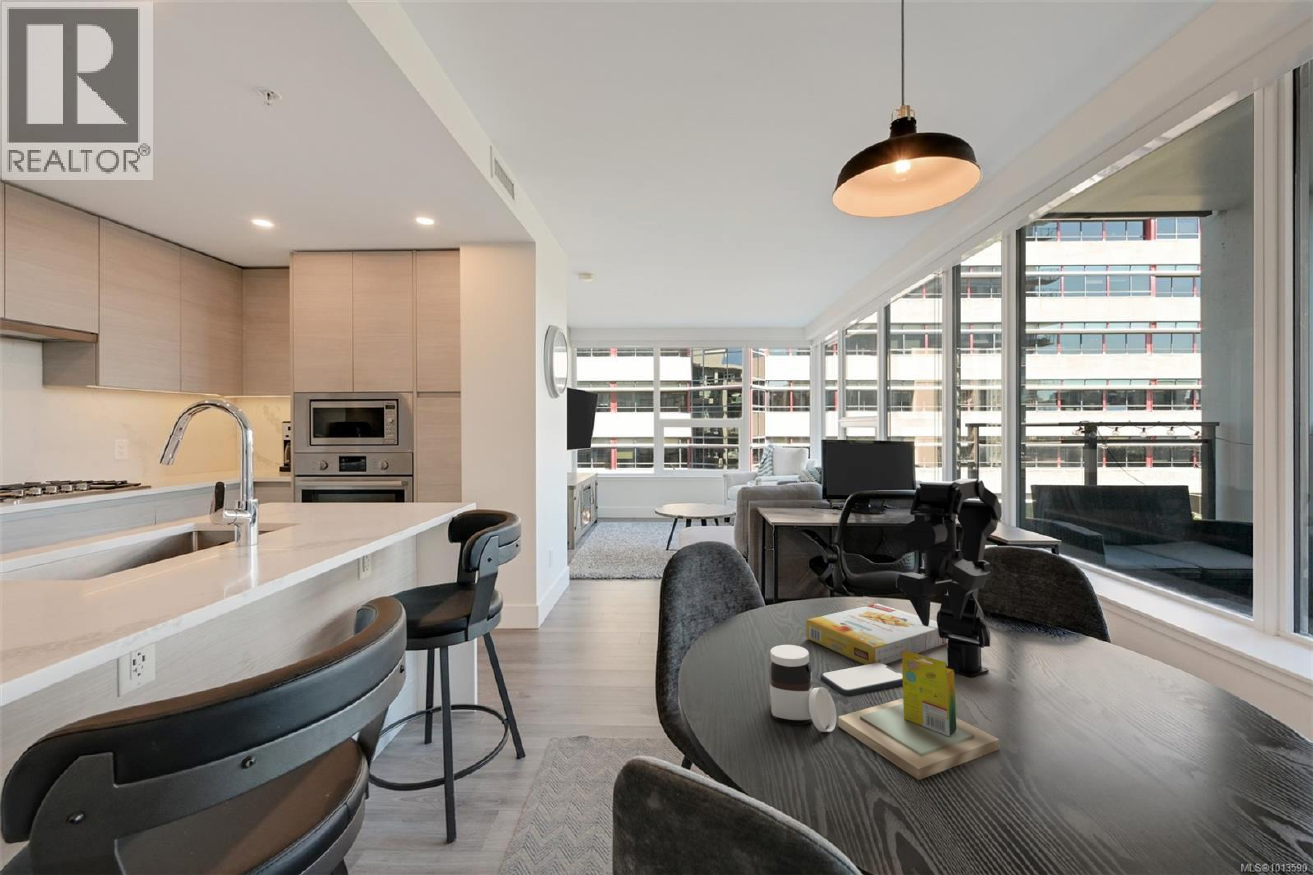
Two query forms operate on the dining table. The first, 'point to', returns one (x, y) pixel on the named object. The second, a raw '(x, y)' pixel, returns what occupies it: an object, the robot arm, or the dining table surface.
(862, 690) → the smartphone
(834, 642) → the cereal box
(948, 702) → the crayon box
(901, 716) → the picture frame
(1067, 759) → the dining table surface
